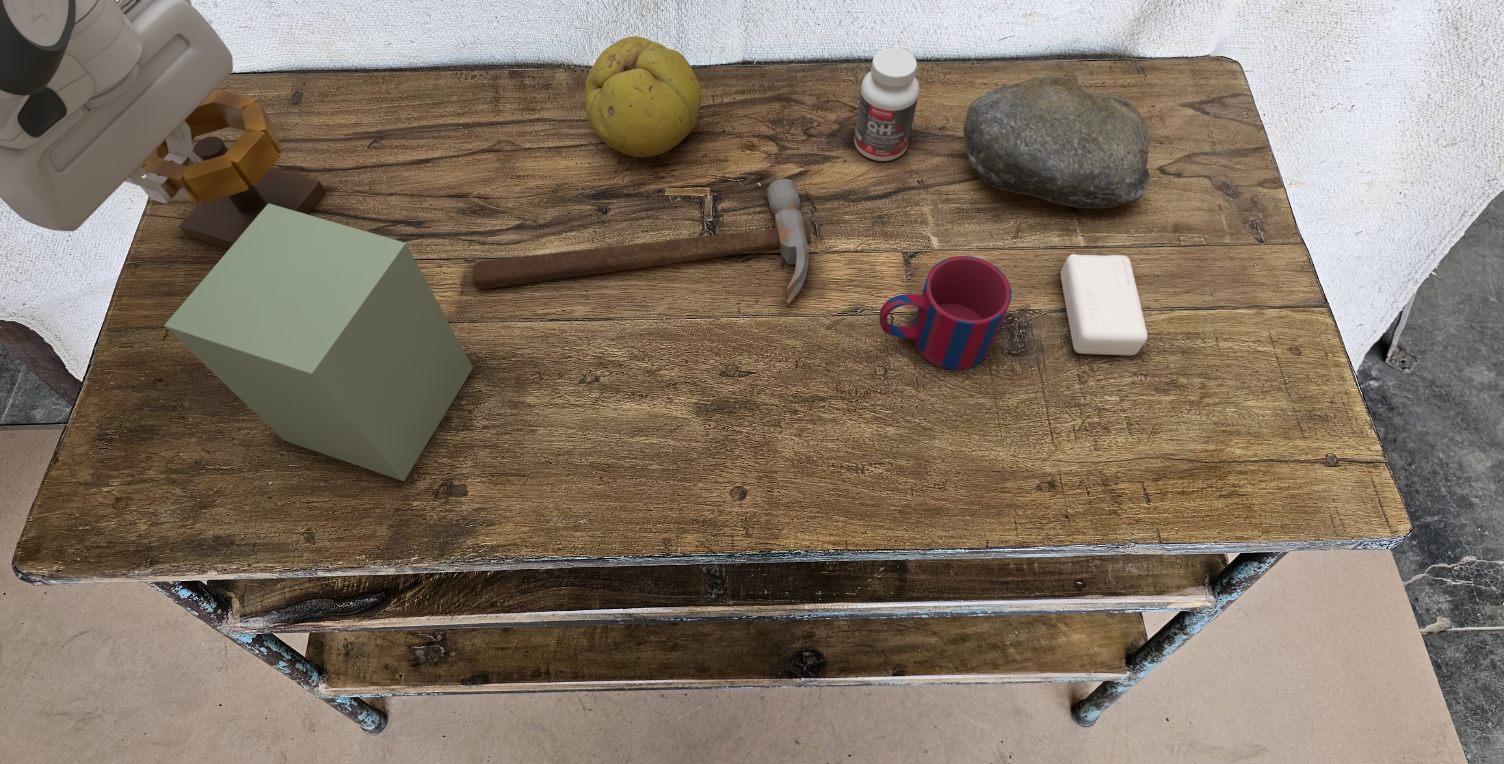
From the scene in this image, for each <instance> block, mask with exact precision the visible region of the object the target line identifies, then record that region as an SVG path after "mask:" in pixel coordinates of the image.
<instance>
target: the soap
mask: <svg viewBox="0 0 1504 764" xmlns="http://www.w3.org/2000/svg"><path fill="white" fill-rule="evenodd" d="M1060 280H1061V286H1062V287H1061V288H1062V293H1063V298H1064V303H1065V309H1066V315H1067V320H1068V326H1069V331H1070V332H1069V333H1070V337H1071V343H1072V344H1071V345H1072V348H1073V350H1074V352H1075V353H1077V354H1081V355H1101V356H1102V355H1107V356H1135V355H1137V354H1138V353H1139V352H1140V350H1141V349H1142V347H1144V345H1145V344H1146V342H1147V340H1148V337H1149V335H1148V331H1147V326H1146V323H1145V318H1144V313H1143V309H1142V305H1141V300H1140V297H1139V292H1138V288H1137V284H1136V279H1135V275H1134V270H1133V267H1132V262H1131V259H1130V258H1129V257H1128V256H1126V255H1122V254H1118V255H1117V254H1116V255H1115V254H1108V255H1098V254H1097V255H1095V254H1076V253H1072V254H1070V255H1068V256H1067V258H1066V260H1065V261H1064V264H1063V265H1062V267H1061V270H1060Z"/></svg>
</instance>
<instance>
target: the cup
mask: <svg viewBox="0 0 1504 764" xmlns="http://www.w3.org/2000/svg"><path fill="white" fill-rule="evenodd" d="M1011 302H1012V288H1011V284H1010V281H1009V280H1008V278H1007V276H1006V275H1005V274H1004V272H1003V271H1002V270H1000V268H998V267H997V266H996V265H994V264H993V263H991V262H989V261H988V260H985V259H982V258H979V257H977V256H976V257H975V256H970V255H956V256H951V257H948V258H944V259H943V260H941V261H938V262H937V263H936V264H935V265H933V267H932V268H931V269H930V270H929V272H928V274H927V275H926V279H925V282H924V285H923V290H922V292H921V294H913V293H912V294H911V293H907V294H899V295H895V296H892V297H891V298H889V299H888V300H886V302H883V303H884V304H883V305H882V306H881V308H880V309H879V325H880V326H881V329H882V331H883V332H884V333H885V334H887V335H889V336H890V337H891V336H892V337H894V338H901V339H908V340H912V341H913V345H914V347H915V348H916V350H917V352H918V353H919V354H920V355H921V357H922V358H924V359H925V360H926V361H927V362H928V363H930V364H932V365H934V366H936V367H938V368H942V369H946V370H951V371H952V370H953V371H960V370H961V371H962V370H967V369H970V368H973V367H976V366H977V365H979V364H980V363H981V362H982V361H984V359H986V357H987V356H988V355H989V353H990V350H991V348H992V346H993V343H994V342H995V339H996V336H997V334H998V332H999V330H1000V327H1001V325H1002V324H1003V321H1004V318H1005V316H1006V313H1007V311H1008V309H1009V307H1010V304H1011ZM906 306H914V307H918V308H917V311H916V314H915V317H914V322H913V325H912V326H898V325H894V324H891V323H888V322H887V318H888V316H889V315H890V313H891V312H892V311H895V309H897V308H900V307H906Z"/></svg>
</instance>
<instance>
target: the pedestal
mask: <svg viewBox="0 0 1504 764" xmlns="http://www.w3.org/2000/svg"><path fill="white" fill-rule="evenodd" d="M164 327H165V329H167V330H168V331H169V332H170V333H171V334H172V335H173V336H174V337H175V338H176V339H177V340H178V341H179V342H180V343H181V344H182V345H183V346H185V348H187V349H188V350H189V351H190V352H191V353H192V354H193V355H194V356H195V357H196V358H197V360H199V361H201V363H202V364H203V365H204V366H205V367H207V368H208V370H210V371H211V372H212V373H213V374H214V375H215V376H216V377H217V378H218V379H219V380H220V381H221V382H222V383H223V384H224V385H225V386H226V387H227V388H228V389H229V390H231V392H233V394H235V395H236V396H237V398H239V399H240V400H241V401H242V402H243V403H244V404H245V405H246V406H247V407H249V408H250V410H251V411H253V412H254V414H256V415H257V416H258V417H259V418H260V419H261V420H262V421H263V422H264V423H265V424H266V425H267V426H268V427H269V428H271V430H272V431H274V432H275V433H276V435H278V436H279V437H280V438H281V439H282V440H283V441H285V442H288V443H289V444H290V443H291V444H294V445H296V446H300V447H302V448H305V449H308V450H311V451H314V452H316V453H319V454H322V455H326V456H328V457H332V458H334V459H337V460H340V461H343V462H346V463H348V464H351V465H355V466H357V467H361V468H363V469H367V470H369V471H373V472H374V473H378V474H381V475H384V476H387V477H389V478H392V479H395V480H398V481H401V482H405V481H406V479H407V477H408V476H409V474H410V473H411V471H412V470H413V468H414V466H415V465H416V463H417V461H418V459H419V458H420V456H421V455H422V453H423V451H424V450H425V448H426V446H427V445H428V443H429V441H430V440H431V438H432V437H433V435H434V433H435V431H436V430H437V428H438V427H439V425H440V423H441V421H442V420H443V418H444V417H445V415H446V414H447V412H448V410H449V409H450V407H451V405H452V403H453V402H454V400H455V399H456V397H457V395H458V394H459V392H460V391H461V389H462V387H463V385H464V384H465V382H466V380H467V378H468V377H469V376H470V374H471V373H472V371H473V369H474V366H473V365H472V363H471V361H470V359H469V357H468V355H467V354H466V352H465V350H464V348H463V346H462V343H461V342H460V341H459V339H458V337H457V335H456V334H455V332H454V330H453V328H452V326H451V324H450V322H449V321H448V319H447V316H446V314H445V313H444V311H443V309H442V307H441V306H440V304H439V302H438V300H437V298H436V296H435V294H434V293H433V290H432V289H431V287H430V284H429V283H428V281H427V279H426V278H425V276H424V274H423V272H422V270H421V268H420V266H419V264H418V262H417V260H416V259H415V257H414V255H413V254H412V252H411V249H410V248H409V246H408V244H407V243H406V242H404V241H401V240H397V239H395V238H391V237H387V236H383V235H380V234H376V233H373V232H369V231H366V230H362V229H359V228H355V227H352V226H349V225H345V224H341V223H338V222H335V221H331V220H328V219H324V218H321V217H318V216H314V215H311V214H308V215H307V214H304V213H300V212H297V211H293V210H290V209H286V208H283V207H279V206H276V205H273V204H267V205H266V207H265V208H264V209H263V210H262V211H261V212H260V214H259V215H258V216H257V217H256V218H255V220H254V221H253V222H252V223H251V224H250V225H249V227H248V228H247V229H246V230H245V231H244V232H243V234H242V235H241V236H240V237H239V238H238V239H237V241H236V242H235V243H234V244H233V245H232V246H231V248H230V249H227V251H226V252H225V254H224V255H222V257H221V258H220V260H218V262H217V263H216V264H215V265H214V267H213V268H212V269H211V270H210V271H209V272H208V273H207V274H206V275H205V276H204V278H203V279H202V280H201V282H200V283H199V284H198V285H197V286H196V287H195V289H194V290H193V291H192V292H191V293H190V294H189V295H188V296H187V298H186V299H185V300H184V302H183V303H182V304H181V305H180V306H179V307H178V309H177V310H175V312H174V313H173V314H172V316H171V317H170V318H169V319H168V320H167V322H166V323H165V324H164Z"/></svg>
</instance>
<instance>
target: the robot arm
mask: <svg viewBox="0 0 1504 764" xmlns="http://www.w3.org/2000/svg"><path fill="white" fill-rule="evenodd" d="M233 61H234V59H233V54H232V52H231V50H230V49H229V48H228V46H227V44H226V43H225V42H224V41H223V39H222V38H221V37H220V35H219V34H218V32H216V30H215V29H214V28H213V27H212V25H211V24H210V23H209V22H208V20H207V19H206V18H205V17H204V16H203V15H202V14H201V13H200V12H199V11H198V10H197V9H196V8H195V7H194V6H193V4H192V1H191V0H0V199H1V200H2V201H3V202H4V203H5V204H6V205H7V206H8V207H9V208H10V209H11V210H12V211H13V212H14V213H16V215H18V216H19V217H20V218H21V219H23V220H24V221H26V222H28V223H30V224H32V225H35V226H37V227H40V228H42V229H43V228H44V229H47V230H50V231H56V232H75V231H77V230H79V228H80V227H82V225H83V224H84V223H85V222H86V221H87V220H88V219H89V218H90V217H91V216H92V215H93V214H94V213H95V212H96V211H97V210H98V209H99V208H100V207H101V206H102V205H103V204H104V203H105V202H106V201H107V199H109V197H111V196H112V195H113V193H115V192H116V190H118V189H119V188H120V187H121V185H122V184H124V183H128V184H131V185H135V186H138V187H140V189H142V190H143V191H144V193H145V194H146V195H147V196H148V197H149V198H150V199H152V200H154V201H155V202H158V203H162V204H165V205H167V204H168V203H170V201H171V200H173V198H175V197H174V196H175V195H176V194H177V192H178V189H177V188H176V187H175V186H173V183H172V182H171V181H170V179H169V178H168V177H165V176H162V175H161V176H158V175H157V174H155V173H152V172H150V173H149V174H148V175H147V176H146V175H145V174H146V170H145V169H144V168H143V167H142V165H141V164H142V163H143V162H144V161H145V160H146V159H147V158H148V157H149V156H150V155H151V154H152V153H153V152H154V151H155V150H156V149H157V148H158V147H159V146H160V145H161V144H162V143H163V142H164V141H165V140H166V142H167V146H168V151H169V153H168V154H167V156H166V157H165V158H164V160H167V161H171V162H174V163H178V164H181V165H185V166H189V165H192V164H195V163H199V162H200V160H199V158H198V157H197V156H196V155H195V153H194V147H193V140H192V138H191V129H190V127H189V126H188V124H187V123H186V121H185V119H186V118H187V117H188V116H189V115H190V114H191V113H192V112H193V111H194V110H195V109H196V108H197V107H198V106H199V105H200V104H201V103H202V102H203V101H204V100H205V99H206V98H207V97H208V96H209V95H210V94H211V93H212V92H213V91H214V90H215V91H216V89H217V88H218V87H219V86H221V84H222V83H224V81H225V80H226V79H227V78H228V77H229V76H230V75H231V74H232V73H233V71H234V62H233ZM144 176H145V177H144Z"/></svg>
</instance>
